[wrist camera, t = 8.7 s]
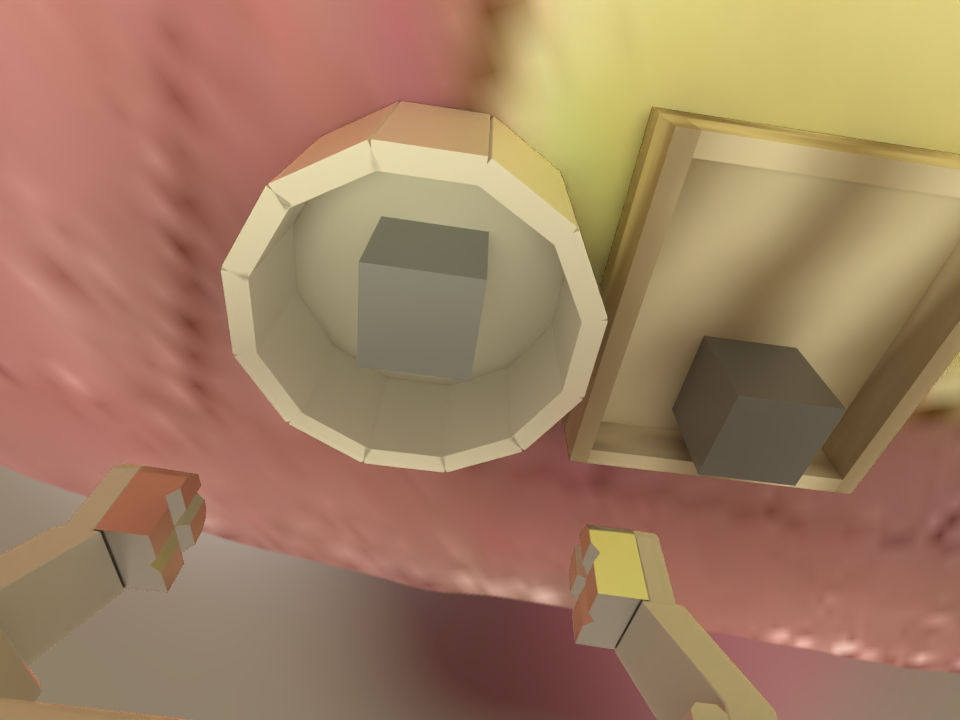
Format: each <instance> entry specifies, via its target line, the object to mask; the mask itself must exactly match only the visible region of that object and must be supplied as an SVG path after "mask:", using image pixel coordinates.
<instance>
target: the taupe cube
mask: <svg viewBox="0 0 960 720" xmlns="http://www.w3.org/2000/svg"><path fill="white" fill-rule="evenodd" d="M488 242H489V232H487V231H481V230H474V229H467V228H460V227H453V226H446V225H439V224H432V223H425V222H418V221H411V220H405V219H398V218H391V217H384V216H381V218H380V220H379V222H378V224H377V226H376V228H375V230H374V232H373V234H372V236H371V238H370V240H369V242H368V244H367V246H366V248H365V250H364V252H363V254H362V256H361V258H360V260H359V271H358V332H357V367H365V368H372V369H380V370H388V371H396V372H403V373H411V374H419V375H426V376H434V377H442V378H450V379H457V380H465V381H471V375H472V368H473V362H474V356H475V350H476V344H477V338H478V332H479V326H480V319H481V313H482V307H483V301H484V295H485V289H486V283H487V267H488Z"/></svg>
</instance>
